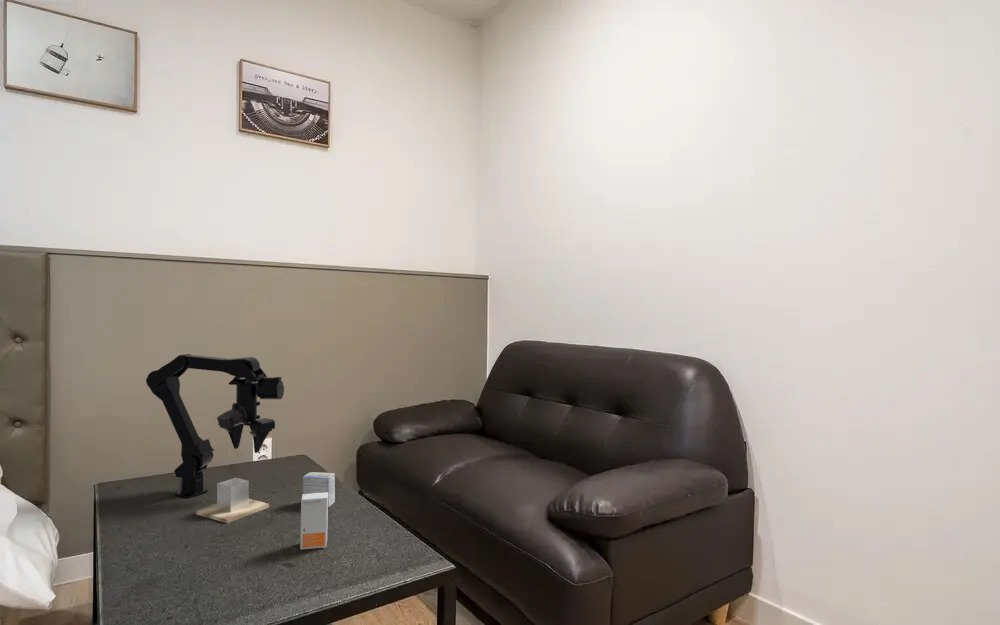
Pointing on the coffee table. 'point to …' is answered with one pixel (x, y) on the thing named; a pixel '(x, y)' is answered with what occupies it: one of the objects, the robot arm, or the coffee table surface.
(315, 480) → the medicine box
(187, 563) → the coffee table surface
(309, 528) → the skincare box
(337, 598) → the coffee table surface
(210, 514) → the post board
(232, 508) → the grey block
